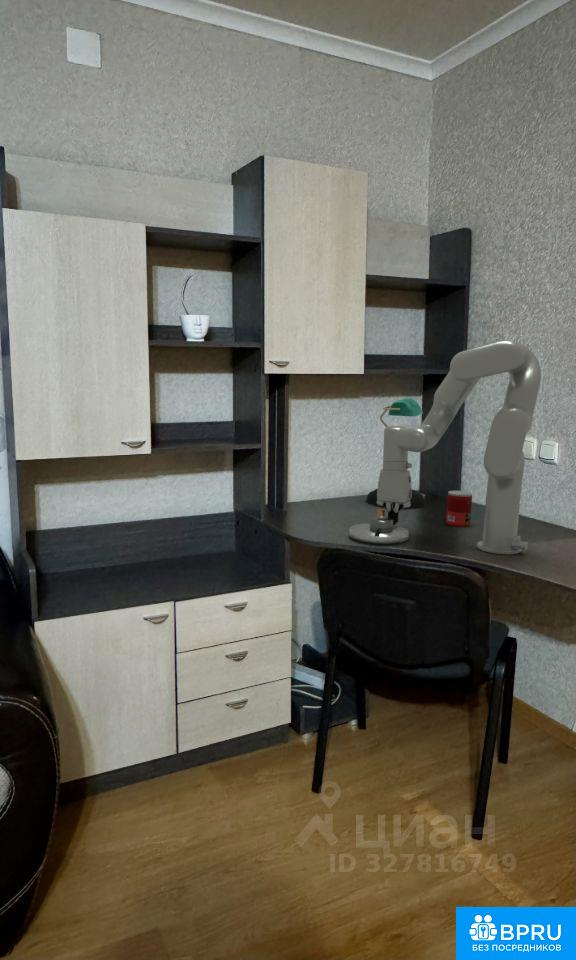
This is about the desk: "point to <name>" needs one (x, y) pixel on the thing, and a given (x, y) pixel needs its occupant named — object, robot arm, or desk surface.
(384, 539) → the turntable
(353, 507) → the desk surface
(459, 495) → the canned food
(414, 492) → the banker's lamp
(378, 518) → the cover
